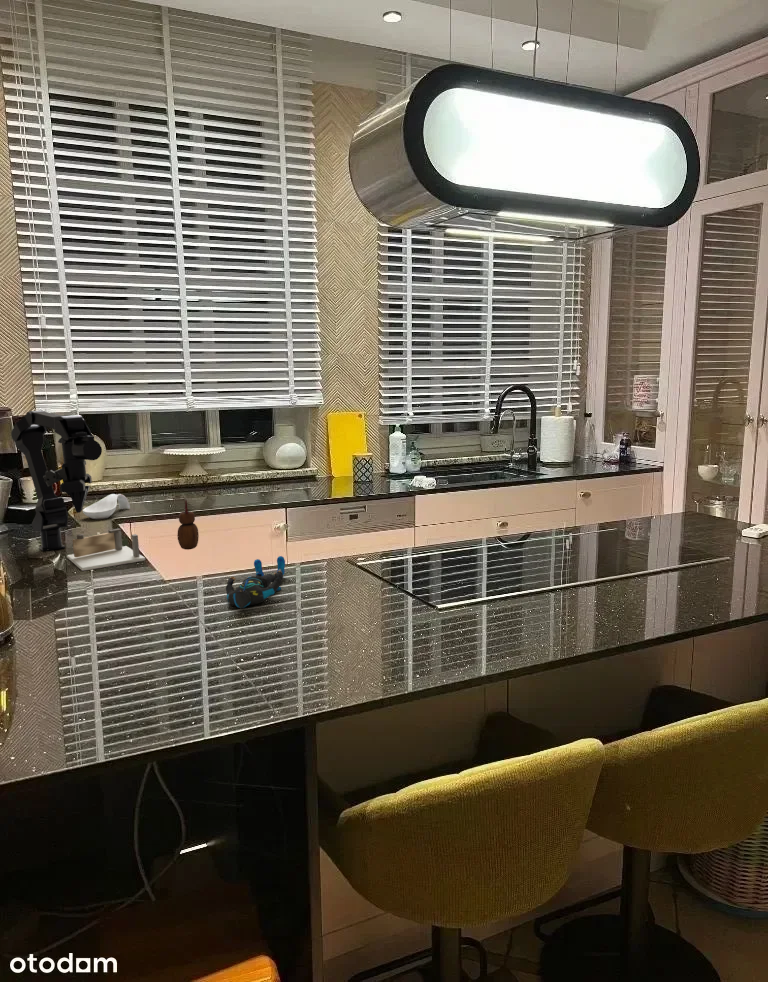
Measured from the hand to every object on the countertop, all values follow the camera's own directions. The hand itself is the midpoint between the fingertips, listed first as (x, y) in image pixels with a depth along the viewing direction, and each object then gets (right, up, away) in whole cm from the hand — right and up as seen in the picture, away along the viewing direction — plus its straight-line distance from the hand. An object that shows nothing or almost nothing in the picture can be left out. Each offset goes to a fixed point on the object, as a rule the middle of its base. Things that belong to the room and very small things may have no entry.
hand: (79, 511), depth 220 cm
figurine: (+59, -19, -43) cm, 76 cm away
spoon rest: (-16, -3, +67) cm, 69 cm away
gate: (+6, -12, 0) cm, 13 cm away
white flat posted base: (+9, -13, -4) cm, 17 cm away
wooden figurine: (+31, -11, +6) cm, 33 cm away
